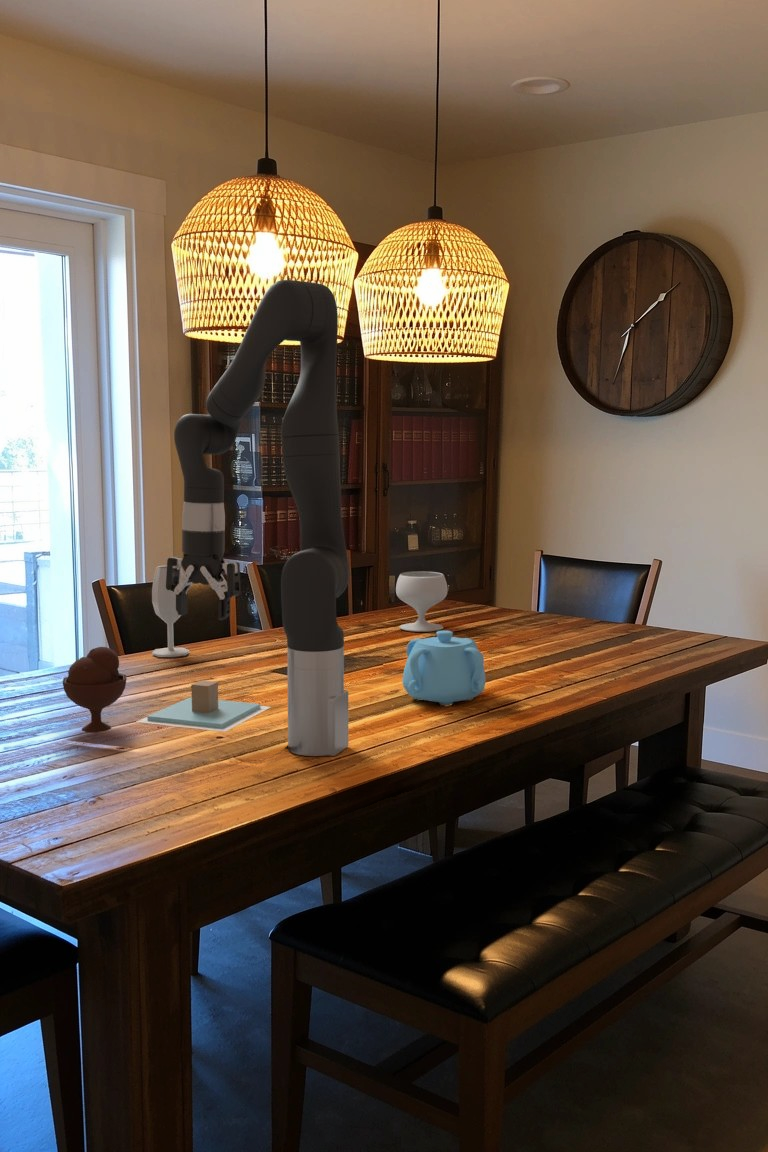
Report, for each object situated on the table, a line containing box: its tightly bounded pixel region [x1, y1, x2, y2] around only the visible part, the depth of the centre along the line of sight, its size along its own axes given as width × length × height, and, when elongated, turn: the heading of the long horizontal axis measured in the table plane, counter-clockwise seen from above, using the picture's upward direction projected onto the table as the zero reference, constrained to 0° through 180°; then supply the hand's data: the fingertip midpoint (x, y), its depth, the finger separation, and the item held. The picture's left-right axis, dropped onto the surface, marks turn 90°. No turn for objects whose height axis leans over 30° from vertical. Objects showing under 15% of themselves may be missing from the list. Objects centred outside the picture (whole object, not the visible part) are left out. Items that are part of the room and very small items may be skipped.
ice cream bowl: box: [62, 646, 127, 734], centre depth 181 cm, size 11×11×15 cm
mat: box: [135, 705, 272, 733], centre depth 192 cm, size 18×18×1 cm
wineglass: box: [151, 565, 190, 658], centre depth 246 cm, size 9×9×21 cm
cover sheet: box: [146, 680, 261, 729], centre depth 191 cm, size 15×15×6 cm
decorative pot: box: [402, 630, 486, 706], centre depth 205 cm, size 16×16×14 cm
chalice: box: [395, 570, 449, 633], centre depth 282 cm, size 14×14×15 cm
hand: (202, 617), depth 188 cm, fingers open, 8 cm apart
